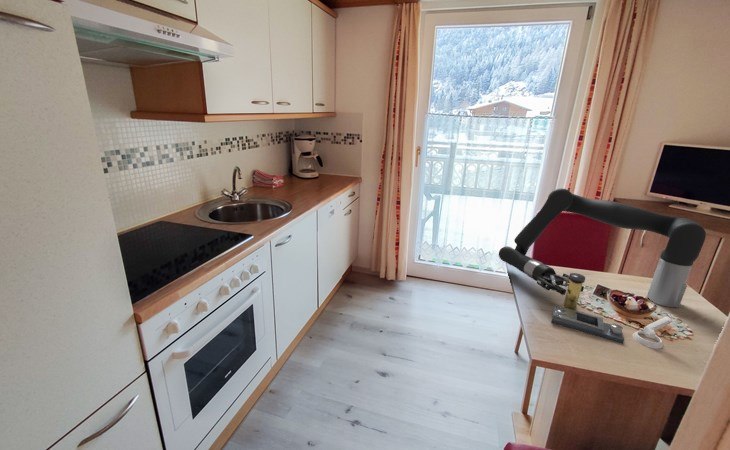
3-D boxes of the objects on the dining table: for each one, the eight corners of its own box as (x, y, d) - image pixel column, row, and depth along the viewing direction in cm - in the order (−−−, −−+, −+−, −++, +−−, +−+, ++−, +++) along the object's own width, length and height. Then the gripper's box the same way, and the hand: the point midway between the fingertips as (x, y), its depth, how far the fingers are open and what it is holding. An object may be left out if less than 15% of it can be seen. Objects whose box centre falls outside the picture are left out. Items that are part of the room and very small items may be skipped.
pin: (576, 309, 122) (585, 275, 118) (576, 315, 118) (585, 280, 114) (561, 305, 125) (569, 271, 120) (561, 311, 121) (569, 276, 116)
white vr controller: (693, 341, 98) (676, 328, 97) (652, 358, 104) (636, 346, 103) (679, 322, 104) (663, 310, 103) (642, 340, 110) (626, 328, 110)
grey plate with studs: (620, 331, 110) (622, 322, 109) (622, 344, 103) (625, 335, 102) (552, 312, 120) (554, 303, 119) (551, 322, 113) (553, 314, 112)
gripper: (526, 265, 130) (561, 284, 116) (554, 261, 135) (591, 279, 120) (523, 282, 133) (556, 302, 118) (550, 277, 137) (586, 297, 122)
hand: (573, 291), depth 119 cm, fingers open, 8 cm apart
